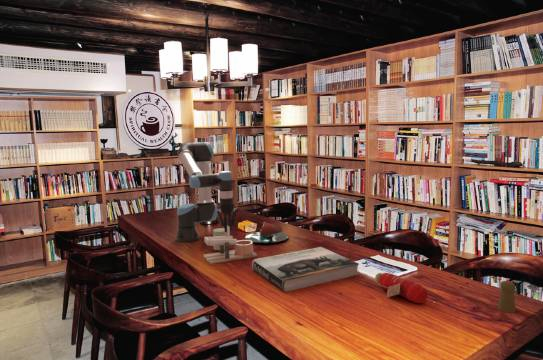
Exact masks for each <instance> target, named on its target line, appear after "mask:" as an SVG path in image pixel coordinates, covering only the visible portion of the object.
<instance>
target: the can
mask: <svg viewBox="0 0 543 360" xmlns="http://www.w3.org/2000/svg"><path fill="white" fill-rule="evenodd" d="M217 236H226V232H225V230H224V227H222V228H221V227H219V228H214V229H212V237H217ZM213 250H215V251H220V245H214V246H213ZM224 251H225V245H224Z"/></svg>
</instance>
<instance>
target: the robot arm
mask: <svg viewBox="0 0 543 360" xmlns="http://www.w3.org/2000/svg"><path fill="white" fill-rule="evenodd" d="M214 155H215V154H214V148H213V145H212V144H211V143H210V142H208V141H198V142H197V141H196V142H194V141H193V142H186V143H183V144H181V146H179V148H178V149H177V155H176V156H177V159H178V161H179V162H180V163H181V164H182V165H183V168H184V169H185V171H186V173H187V174H188V176H189V178H188V184H189V187H190V188H191V189H197V192H198V193H197V194H198V201H196V205H195V204H194V203H185V204H181V205H179V206H178V207H177V209H176V216H177V232H176V236H175V241H176V242H178V243H179V242H180V243H189V242H190V243H191V242H195V241H197V240H199V238H200V235H199V232H198V230H197V227H196V224H199V223H205V222H211V221H215V220H216V218H219V223H220V225H221V227H223V228H224V230H225V232H226V236H231V232H232V226H234V225H235V222H236V218H237V217H236V216H237V212H238V210H239V209H238V208H237V207H235V206H234V192H233V191H234V190H233V173H232V171H231V170H230V171H229V170H223V171H220V172H218V173H216V172H215V173H210V164H211V162H212V159H214ZM212 187H219V197H220V198H219V203H220V205H219V209H218V205H217V204H216V203H215V201H214V200H213V199H212V189H211V188H212ZM217 216H218V217H217ZM222 216H223V217H222Z"/></svg>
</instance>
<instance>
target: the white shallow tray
mask: <svg viewBox="0 0 543 360" xmlns="http://www.w3.org/2000/svg"><path fill="white" fill-rule="evenodd" d="M233 237H234V236H232V235H230V236H217V237H213V236H204V237H203V239H204V241H203V242H204V244H206V246H208V247H209V246H211V247H212V246H213V247H214V245H225V243H226V242H229V246H231V245H235V244H236V243H237V241H238V240H237V238H233Z"/></svg>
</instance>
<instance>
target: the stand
mask: <svg viewBox="0 0 543 360" xmlns="http://www.w3.org/2000/svg"><path fill="white" fill-rule="evenodd" d="M202 256H203V257H202V258H204V259H205V261H207V262H208V263H209V265H213V264H219V263H225V262H231V261H238V260H239V261H240V260H245V259H251V258H257V257H258V254H257V253H256V252H254V251H253V253H252V254H250V255H236V254H235V251H234V249H232V250H231V249H230V245H229V242H226V243H225V250H224V245H220V250H219V251H218V252H210V253H205V254H202ZM244 258H245V259H244Z"/></svg>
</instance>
